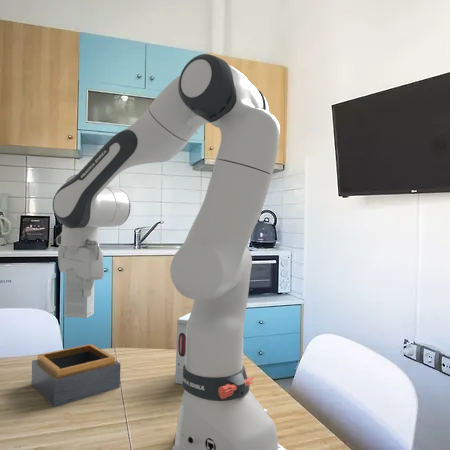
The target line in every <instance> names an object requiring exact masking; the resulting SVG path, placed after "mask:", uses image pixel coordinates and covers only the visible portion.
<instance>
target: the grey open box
mask: <svg viewBox="0 0 450 450" xmlns="http://www.w3.org/2000/svg"><path fill="white" fill-rule="evenodd" d="M31 385H32V387H33V388H35V390H37V391H38V392H39V394H40V395H41V396H42V397H43V398H44V399H45V400H47V402H49V404H50V405H51V406H52V407H53V408H56V407H60V406H64V405H66V404H69V403H73V402H76V401H79V400H83V399H85V398H89V397H93V396H96V395H99V394H102V393H105V392H108V391H109V392H110V391H113V390H115V389H118V388H119V389H120V388H121V363H120V362H119V361H117V360H116V357H115V356H114V355H111V354H110V353H108V352H107V351H105V350H103V349H101V348H99V347H97V346H96V345H94V344H92V343H90V344H85V345H79V346H74V347H70V348H65V349H64V348H63V349H60V350H55V351H50V352H45V353H41V354H37V358H36V359H35V360H32V361H31Z"/></svg>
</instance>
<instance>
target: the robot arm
mask: <svg viewBox="0 0 450 450" xmlns="http://www.w3.org/2000/svg"><path fill="white" fill-rule="evenodd" d="M265 97H266V96H264V94H263V93H262V92H261V90H259V89H258V88H257V87H256V86H255V85H254V84H252V83H251V82H250V81H249V80H248V78H247V77H246V76H245V75H244V74H243V73H242V72H240V71H239V70H238V69H236V68H234V66H231V65H229V63H228V62H226V60H224V59H222V58H220V57H218V56H215V55H212V54H208V53H202V54H198V55H196V56H194V57H192V59H190V60H189V61H188V62H186V64H185V66H183V69H182V70H181V73H180V75H179V76H176V77H175V78H174V79H173V80H172V81H171V82H170V83H168V85H166V86H165V88H163V90H162V91H160V93H159V94H158V95H157V96H156V97H155V99H154V100H153V101H152V102H151V104H150V105H149V107H148V108H147V109H146V111H145V112H144V113H143V114H142V115H141V116H140V117H138V119H137V120H136V121H134V122H133V123H132V124H131V125H130V126H128V127H127V128H125V129H124V130H121V131H119V132H118V133H116V134H115V135H113V136H112V137H111V138H110V139H109V140H108V141H107V142H106V143H105V144H104V145H103V146H102V147H101V148H100V149H99V151H97V152H96V154H95V155H93V157H92V158H91V159H90V160H89V161H88V162H87V163H86V165H84V166H83V168H81V170H80V171H79V172H78V173H77V174H74V175H71V176H70V177H68V178H66V181H65V183H64V184H62V185H61V186H60V187H59V189H58V190H57V191H56V192H55V195H54V198H53V199H52V210H53V213H54V215H55V217H56V218H57V220H58V221H59V223H61V224H62V226H61V232H60V234H59V235H57V237H56V239H55V240H56V245H58V248H57V261H58V269H59V272H60V273H64V274H65V270H66V269H74V274H75V276H77V277H81V278H83V282H84V287H83V289H82V296H85V297H88V296H91V289H92V287H93V284H94V285H95V280H96V281H98V280H102V279H103V277H104V273H105V271H104V270H105V269H104V268H105V266H104V265H105V264H104V252H103V250H102V249H101V246H100V228H109V227H110V228H112V227H113V228H114V227H118V226H122V225H124V224H125V222H126V221H127V220H128V219H129V216H130V214H131V201H130V198H129V196H128V195H127V193H126V192H125V191H123V190H121V189H118V188H116V187H112V186H110V184H111V182H112V181H113V180H114V179H115V178H116V177H117V176H118V175H119V174H120V173H121V172H123V171H125V170H127V169H129V168H131V167H135V166H141V165H146V164H147V165H148V164H155V163H162V162H169V161H170V160H171V159H173V158H174V157H176V156H177V155H178V154H179V153H180V152H181V151H182V150H183V149H184V148H185V147H186V145H187V144H188V143H189V142H190V140H191V139H192V138H193V136H194V135H195V134H196V132H197V131H198V129H200V128H201V127H202V126H204V125H206V124H211V125H212V126H214V127H216V128H218V129H219V130H220V135H221V139H220V144H219V148H218V152H217V154H216V157H215V162H214V165H213V167H212V168H213V169H212V172H211V175H210V179H209V183H208V185H207V190H206V193H205V196H204V199H203V201H202V204H201V206H200V209H199V211H198V213H197V215H196V216H195V219H194V220H193V221H194V222H192V225H191V227H190V229H189V230H188V233H187V236H186V238H185V240H184V241H183V244H182V245H181V247H180V248H179V249H178V251H176V253H175V254H174V255H173V257H172V260H171V264H170V267H169V268H170V269H169V271H170V278H171V281H172V285H174V286H173V287H174V288H175V289H176V290H177V291H178V292H179V294H181V295H182V296H184V297H186V298H187V299H189V300H193V303H192V308H191V311H190V313H191V314H190V317H189V319H188V322H187V325H186V355H185V365H184V366H183V373H182V384H181V385H182V388H183V393H182V398H181V402H180V405H179V409H178V415H177V425H176V430H175V431H176V432H175V433H176V434H175V438H174V444H173V446H172V447H171V450H287V448H285V447H284V446H282V444H280V443H279V441H278V431H277V426H276V424H275V421H274V420H273V419H272V417H270V415H269V412H268V410H267V409H266V408H264V407H263V406H262V405H261V404H260V403H259V401H258V400H257V398H256V397H255V396H254V394H253V393H252V392H251V390H250V389H251V388H250V385H252V384H254V381H252V380H254V376H252V377H248V375H247V371H246V368H245V366H244V362H243V361H244V332H245V331H244V330H245V319H246V313H247V312H246V311H247V305H248V298H249V291H250V290H249V289H250V280H251V271H252V266H253V259H252V255H251V252H250V249H249V248H248V247H247V246H248V243H249V241H250V239H251V236H252V233H253V232H254V230H255V227H256V225H257V223H258V221H259V219H260V218H261V215H262V213H263V212H262V211H263V208H264V205H265V201H266V197H267V195H268V192H269V189H270V188H269V187H270V184H271V181H272V178H273V174H274V170H275V167H276V162H277V156H278V150H279V145H280V136H281V135H280V132H281V129H280V128H281V127H280V126H281V125H280V123H279V121H278V120H277V118H276V117H275V115H273V114H271V113H270V109H269V104H268V101H267V99H266V98H265Z"/></svg>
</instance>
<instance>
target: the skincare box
mask: <svg viewBox="0 0 450 450" xmlns="http://www.w3.org/2000/svg"><path fill="white" fill-rule="evenodd" d="M64 278H65V279H64V311H63V312H64V318H76V319H77V318H80V319H87V318H89V317H92V316H94V314H95V283H94V284H93V287H92V289H91V296H88V297H85V296H82V289H83V287H84V282H83V278H81V277H77V276H75V274H74V269H66V270H65V273H64Z"/></svg>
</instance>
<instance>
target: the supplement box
mask: <svg viewBox="0 0 450 450" xmlns="http://www.w3.org/2000/svg"><path fill="white" fill-rule="evenodd" d="M190 314H191V312H188V313H187V314H185V315H183V316H181V317H179V318H177V322H176V323H177V325H176V328H177V329H176V350H175V351H176V352H175V354H176V355H175V381H174V384H178V385H179V384H180V385H182V373H183V366H184V365H185V355H186V325H187V322H188V319H189V317H190Z"/></svg>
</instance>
